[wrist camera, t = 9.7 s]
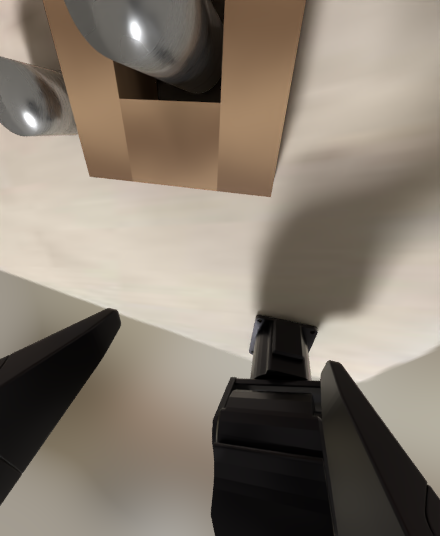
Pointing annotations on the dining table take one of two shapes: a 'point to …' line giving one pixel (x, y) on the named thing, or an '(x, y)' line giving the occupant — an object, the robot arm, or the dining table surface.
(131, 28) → the tall pin
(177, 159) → the hole block
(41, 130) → the short pin
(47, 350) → the robot arm
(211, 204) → the dining table surface
